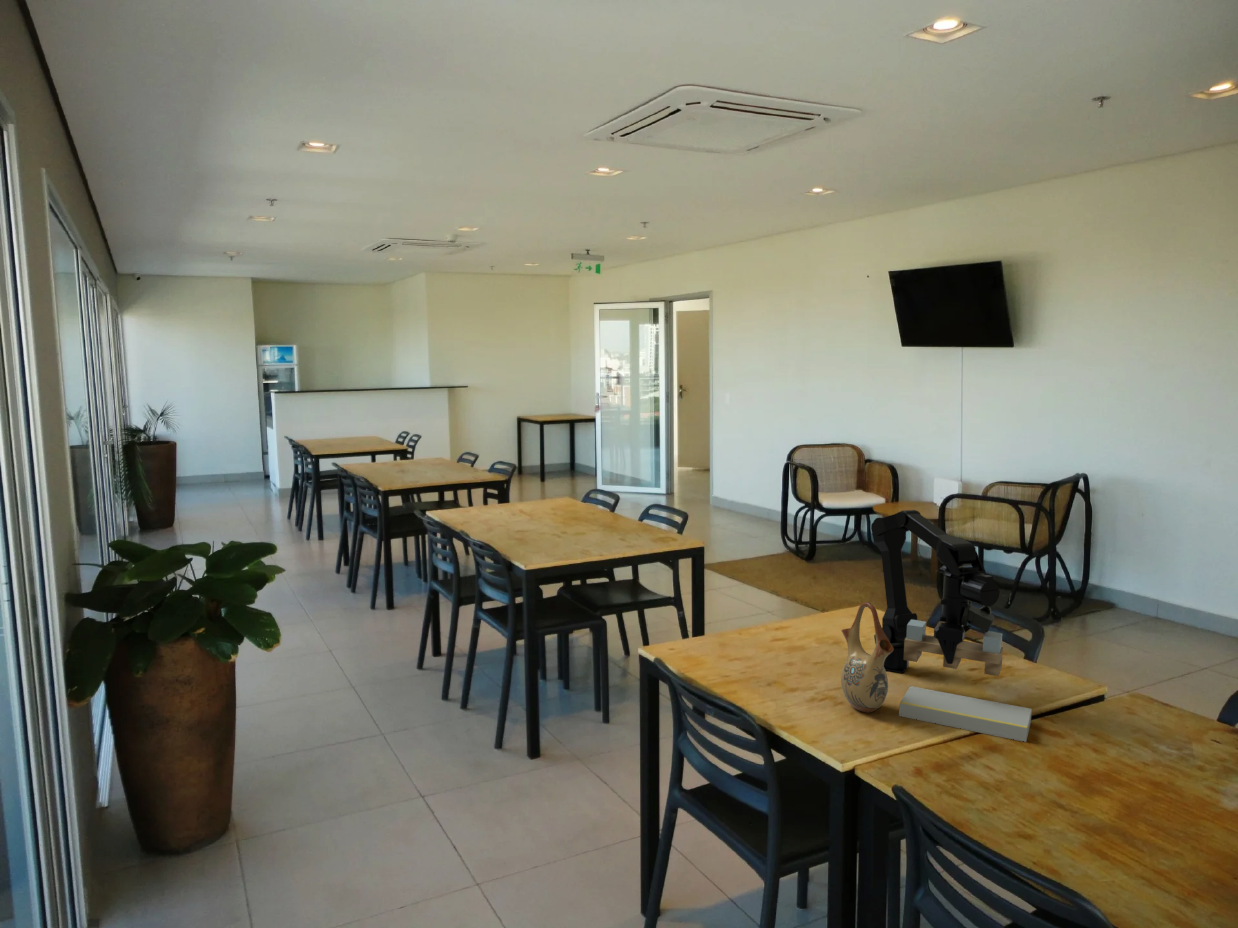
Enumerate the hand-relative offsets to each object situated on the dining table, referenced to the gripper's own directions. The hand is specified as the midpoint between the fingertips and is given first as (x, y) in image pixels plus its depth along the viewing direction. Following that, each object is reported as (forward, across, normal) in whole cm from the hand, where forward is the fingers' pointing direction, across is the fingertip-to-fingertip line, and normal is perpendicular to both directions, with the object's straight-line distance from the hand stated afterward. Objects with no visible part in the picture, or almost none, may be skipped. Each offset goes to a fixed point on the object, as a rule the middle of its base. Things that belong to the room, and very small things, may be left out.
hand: (952, 659), depth 206 cm
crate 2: (-4, 0, -8) cm, 9 cm away
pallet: (+1, 0, 0) cm, 1 cm away
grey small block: (-4, 0, +8) cm, 9 cm away
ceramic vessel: (+10, -18, +16) cm, 26 cm away
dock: (+9, -12, -5) cm, 16 cm away
